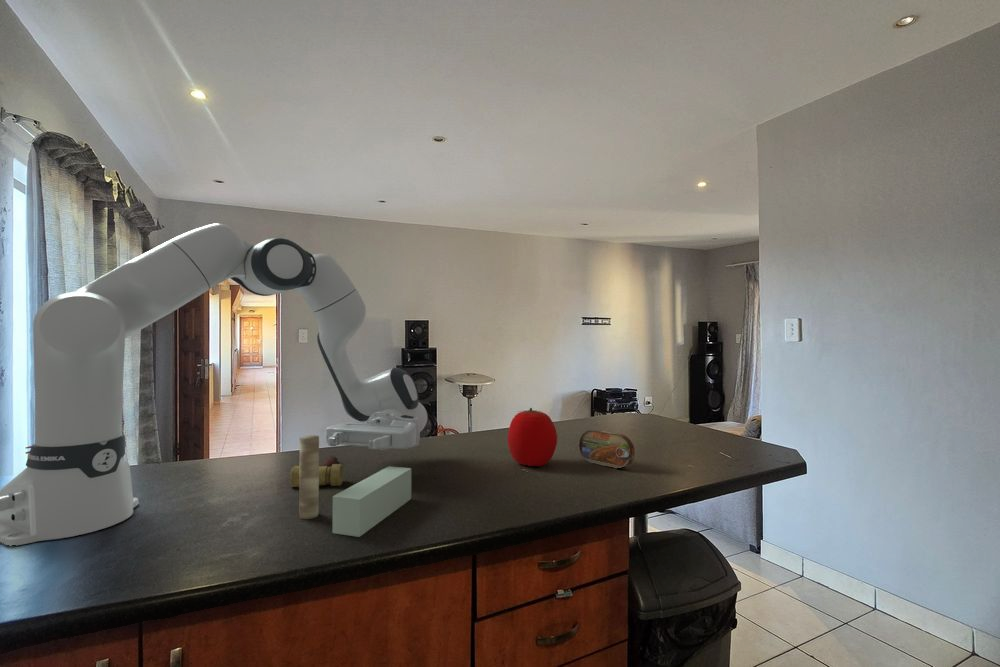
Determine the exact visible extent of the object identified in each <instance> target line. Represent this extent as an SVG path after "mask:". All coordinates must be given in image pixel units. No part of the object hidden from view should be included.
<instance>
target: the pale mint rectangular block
mask: <svg viewBox="0 0 1000 667" xmlns="http://www.w3.org/2000/svg"><path fill="white" fill-rule="evenodd" d="M410 500H412V468H410V467H402V466H401V467H400V466H390V465H388V466H386V467H385V468H382V469H380V470H379V471H377V472H376V473H373V474H372V475H369V476H368V477H367V478H364V479H362V480H361V481H359V482H357V483H355V484H353V485H350V486H349V487H348V488H346V489H344V490H342V491H339V492H338V493H336V494H335V495H333V496H332V529H331V530H332V534H336V535H344V536H351V537H357V538H360V537H361V536H363V535H364V534H366V533H367V532H368V531H369V530H372V528H373V527H375V526H376V525H378V524H379V523H380V522H383V520H385V519H386V518H387V517H389V516H390V515H391V514H393V513H394V512H396V511H397V510H398V509H400V508H401V507H402V506H404V505H405V504H407V503H408V502H409V501H410Z"/></svg>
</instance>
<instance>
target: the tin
mask: <svg viewBox="0 0 1000 667" xmlns="http://www.w3.org/2000/svg"><path fill="white" fill-rule="evenodd" d="M578 446H579V452H580V454H581V455H580V456H582V458H583V459H584V458H587V459H591V460H596V461H600V462H605V463H610V464H614V465H618V466H622V467H625V468H627V467H630V466H631V464H633V461H634V459H635V456H636V455H635V453H636V451H635V446H634V443H633V442H632V440H631V439H630V438H629V437H628V436H627V435H624V434H622V433H616V432H609V431H604V430H598V429H589V430H586V431H584V432H583V433H582V434H581V436H580V438H579V443H578ZM626 466H627V467H626Z"/></svg>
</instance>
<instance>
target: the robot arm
mask: <svg viewBox="0 0 1000 667" xmlns="http://www.w3.org/2000/svg"><path fill="white" fill-rule="evenodd" d="M229 279H230V280H232V281H234V282H235V283H236V284H238V285H239V286H240V287H242V288H244V289H245V290H246V291H248V292H249V293H252V294H254V295H257V296H262V297H266V296H267V297H270V296H273V295H280V294H282V293H285V292H287V291H290V290H291V291H293V292H296V293H298V294H299V295H300V296H301V297H302V298H303V299H304V300H305V302H306V303H307V304H308V307H309V308H310V309H311V311H312V313H313V314H314V316H315V319H316V322H317V324H318V329H319V331H318V333H317V334H316V335H317V336H316V341H317V345H318V348H319V351H320V353H321V355H322V357H323V360H324V362H325V364H326V366H327V369H328V371H329V372H330V375H331V377H332V379H333V381H334V383H335V386H336V388H337V389H338V390H337V391H338V392H339V396H340V398H341V402H342V406H343V409H344V411H345V413H346V414H347V415H348V416H349V417H351V418H352V419H354V420H356V422H354V421H353V422H351V421H349V422H347V421H346V422H340V423H337V424H336V423H335V424H333V425H328V426H327V427H326V428H325V442H326V443H327V444H328V446H329V447H336V446H339V445H346V446H358V447H368V448H367V449H369V450H370V449H371V450H381V451H388V450H390V449H399V450H407V449H408V450H409V449H411V448H416V447H417V446H419V445H420V438H421V436H420V433H421V432H422V431H423V430H424V428H425V427H426V425H427V422H428V412H427V409H426V408H425V406H424V405H423V404H422V403H421V402H420V398H419V397H420V395H419V390H418V386H417V384H416V380H415V379H414V378H413V377H412V375H411V374H409V372H407V371H406V370H404V369H403V368H399V367H396V366H395V367H392V368H390V369H387V370H384V371H381V372H380V373H378V374H376V375H372V376H370V377H368V378H366V379H360V378H359V377H358V376H357V374H356V372H355V369H354V368H353V366H352V365H353V364H352V363H351V360H350V358H349V356H348V354H347V350H346V349H347V344H348V342H349V340H351V338H352V337H353V336H355V334H356V333H357V332H358V330H360V328H361V326H362V325H363V323H364V321H365V318H366V315H367V314H366V313H367V310H366V309H367V307H366V305H365V302H364V300H363V298H362V296H361V294H360V292H359V291H358V289H357V288H356V286H355V285H354V282H353V281H352V280H351V279H350V277H349V276H348V274H347V273H346V272H345V271H344V269H343V268H342V266H340V265H339V263H338V262H337V261H336V260H335V259H334V258H333V257H332V256H331V255H328V254H326V253H315V254H311V253H310V252H308V251H307V250H305V249H303V248H302V247H301V246H300V245H299V244H297V243H296V242H295V241H292V240H290V239H287V238H283V237H272V238H268V239H265V240H263V241H261V242H259V243H256V244H253V243H249V242H247V241H246V240H244V239H243V238H242V236H241V235H240V234H239V233H238V232H237V231H236V230H235V229H233V228H232V227H230V226H229V225H227V224H224V223H212V224H211V223H210V224H207V225H204V226H201V227H198V228H194V229H192V230H189V231H187V232H184V233H182V234H179V235H177V236H175V237H173V238H171V239H169V240H167V241H165V242H163V243H161V244H159V245H157V246H156V247H153V248H152V249H150V250H148V251H145V252H144V253H142V254H139V255H138V256H136V257H134V258H132V259H130V260H128V261H127V262H124V263H123V264H121V265H119V266H117V267H115V268H114V269H112V270H110V271H109V272H107V273H106V274H105V273H104V274H103V275H101V276H100V277H98V278H96V279H94V280H92V281H91V282H89V283H87V284H85V285H83V286H81V287H79V288H78V289H76V290H73V291H71V292H70V291H69V292H63V293H60V294H58V295H56V296H53V297H51V298H50V299H48V300H46V301H45V302H44V303H42V305H41V306H40V307H39V308H38V310H37V311H36V313H35V316H34V318H33V322H32V332H33V333H32V335H33V337H32V338H33V340H32V341H33V346H32V347H33V379H34V382H33V383H34V443H33V444H32V445H29V446H26V447H25V449H30V450H29V451H26V452H24V453H25V455H27V459H26V463H25V466H26V468H24V469H23V470H22V471H21V472H20V473H18V474H17V475H16V476H15V477H14V478H12V479H11V480H10V481H8V483H6V484H5V485H3V487H2V488H0V543H1V544H3V543H4V544H3V545H5V544H6V545H5V546H7V545H9V546H8V547H13V546H12V545H16V546H20V545H26V544H31V543H36V542H42V541H51V540H59V539H64V538H71V537H75V536H79V535H85V534H89V533H93V532H97V531H99V530H103V529H106V528H109V527H112V526H115V525H116V524H119V523H121V522H124V521H125V520H127V519H128V518H130V517H132V516H133V514H134V508H136V507H137V506H138V505H139V498H138V497H134V494H133V485H132V476H131V474H132V473H131V466H130V463H129V462H128V461H127V460H125V459H124V456H125V455H126V447H127V442H126V436H125V434H123V385H124V369H125V368H124V366H125V348H126V346H125V345H126V344H125V343H126V339H127V338H129V337H130V336H132V335H134V334H136V333H138V332H139V331H140V330H144V329H145V328H147V327H148V326H150V325H151V324H153V323H155V322H157V321H159V320H160V319H162V318H165V317H166V316H167V315H169V314H172V313H173V312H174V311H176V310H178V309H180V308H182V307H184V305H186V304H187V303H190V302H191V301H193V300H194V299H197V297H200V296H201V295H203V294H204V293H206V292H208V291H210V290H211V289H213V288H214V287H216V286H217V285H219V284H222V282H223V283H224V282H225V281H227V280H229ZM357 421H359V422H357Z"/></svg>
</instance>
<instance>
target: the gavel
mask: <svg viewBox="0 0 1000 667" xmlns="http://www.w3.org/2000/svg"><path fill="white" fill-rule="evenodd" d="M338 460H339V459H338V457H336V456H335V455H330V456H329V457H328V458H326V459H325V460H324V461H323V462H322V463H321V464H319V487H320V486H328V485H330V486H331V487H337V486H339V487H340V486H341V485H342V484H343V481H344V465H343V464H342V463H338ZM289 482H290V483H289V484H290V486H291V488H293V487H297V488H299V465H294V466H292V468H291V471H290V476H289Z"/></svg>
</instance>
